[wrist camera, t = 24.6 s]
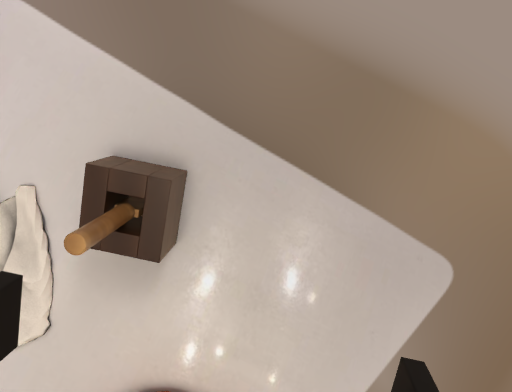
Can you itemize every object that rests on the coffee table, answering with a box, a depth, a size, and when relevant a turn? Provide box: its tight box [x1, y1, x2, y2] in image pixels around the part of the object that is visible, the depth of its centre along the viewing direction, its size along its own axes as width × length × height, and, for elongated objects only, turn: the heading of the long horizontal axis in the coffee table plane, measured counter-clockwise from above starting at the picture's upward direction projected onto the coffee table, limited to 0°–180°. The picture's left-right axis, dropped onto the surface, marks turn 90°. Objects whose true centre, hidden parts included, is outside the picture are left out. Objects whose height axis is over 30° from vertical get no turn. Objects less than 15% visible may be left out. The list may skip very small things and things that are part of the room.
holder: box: [79, 156, 187, 263], centre depth 43 cm, size 8×8×6 cm
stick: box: [64, 196, 145, 255], centre depth 39 cm, size 2×2×15 cm
